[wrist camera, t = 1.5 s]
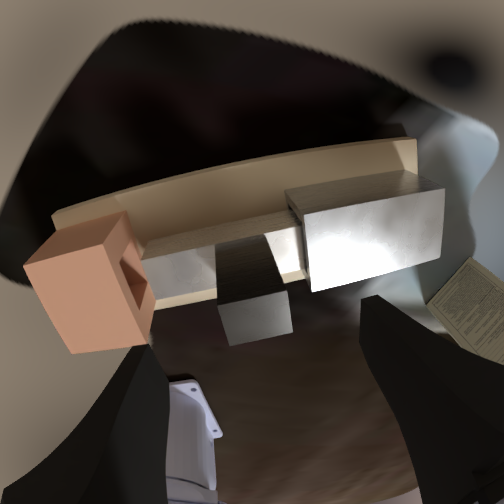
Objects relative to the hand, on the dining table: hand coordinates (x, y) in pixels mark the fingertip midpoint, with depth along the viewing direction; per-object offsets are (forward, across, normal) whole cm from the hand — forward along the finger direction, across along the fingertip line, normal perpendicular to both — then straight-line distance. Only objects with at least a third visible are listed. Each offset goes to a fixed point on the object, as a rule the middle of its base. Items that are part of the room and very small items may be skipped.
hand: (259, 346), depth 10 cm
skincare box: (+11, -18, +10) cm, 23 cm away
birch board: (+10, 0, 0) cm, 11 cm away
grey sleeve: (+11, -7, 0) cm, 13 cm away
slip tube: (+9, -3, 0) cm, 9 cm away
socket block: (+10, +8, 0) cm, 13 cm away
